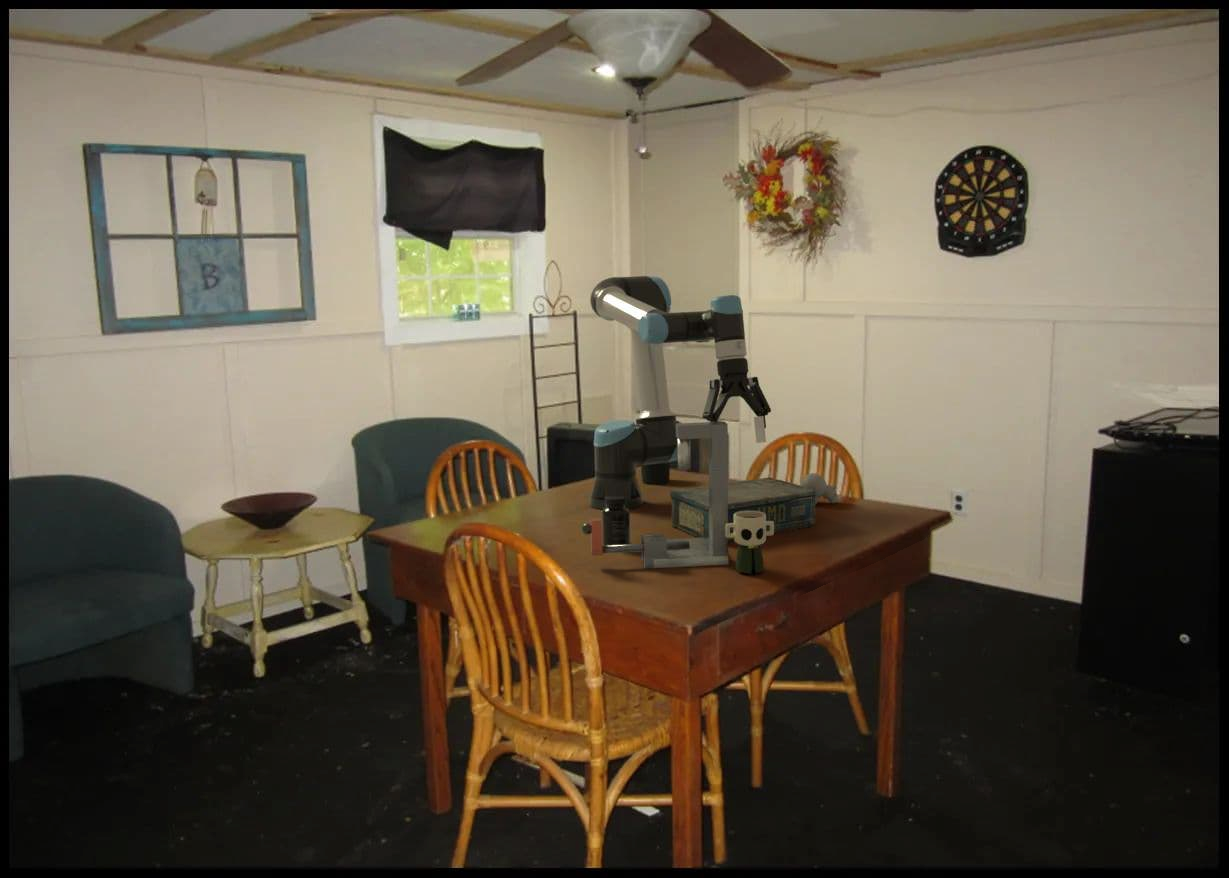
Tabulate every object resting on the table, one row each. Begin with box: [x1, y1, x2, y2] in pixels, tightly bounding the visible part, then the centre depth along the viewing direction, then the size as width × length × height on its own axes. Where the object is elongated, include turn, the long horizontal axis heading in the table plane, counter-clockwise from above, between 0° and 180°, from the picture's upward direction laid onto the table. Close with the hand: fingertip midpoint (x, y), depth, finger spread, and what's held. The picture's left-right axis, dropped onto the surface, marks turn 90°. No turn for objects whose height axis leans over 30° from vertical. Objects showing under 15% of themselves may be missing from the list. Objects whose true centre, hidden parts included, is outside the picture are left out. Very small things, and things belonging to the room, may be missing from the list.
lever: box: [581, 517, 690, 557], centre depth 225 cm, size 3×24×8 cm, turn 95°
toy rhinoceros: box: [800, 472, 842, 506], centre depth 279 cm, size 7×12×8 cm, turn 88°
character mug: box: [725, 511, 774, 574], centre depth 218 cm, size 11×7×13 cm, turn 98°
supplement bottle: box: [601, 495, 631, 545], centre depth 242 cm, size 7×7×12 cm
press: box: [640, 421, 729, 569], centre depth 229 cm, size 16×19×32 cm
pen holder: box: [640, 462, 671, 485], centre depth 311 cm, size 9×9×10 cm
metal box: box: [669, 476, 816, 542], centre depth 257 cm, size 21×32×10 cm, turn 118°
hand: (740, 445), depth 245 cm, fingers open, 13 cm apart
